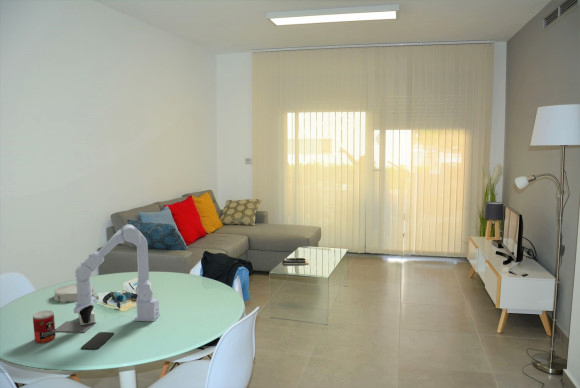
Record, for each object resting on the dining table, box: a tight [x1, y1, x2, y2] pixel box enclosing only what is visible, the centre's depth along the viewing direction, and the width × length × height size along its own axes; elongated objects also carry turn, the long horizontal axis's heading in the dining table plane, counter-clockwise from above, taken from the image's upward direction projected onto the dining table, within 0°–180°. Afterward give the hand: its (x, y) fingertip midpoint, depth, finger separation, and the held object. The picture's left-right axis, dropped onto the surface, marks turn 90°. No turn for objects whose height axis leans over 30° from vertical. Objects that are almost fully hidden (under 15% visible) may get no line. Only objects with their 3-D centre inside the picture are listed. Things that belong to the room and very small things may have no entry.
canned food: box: [32, 310, 56, 344], centre depth 187 cm, size 8×8×11 cm
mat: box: [55, 320, 97, 334], centre depth 199 cm, size 14×10×1 cm
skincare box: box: [77, 309, 96, 325], centre depth 206 cm, size 6×4×12 cm
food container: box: [53, 283, 96, 303], centre depth 238 cm, size 20×20×7 cm
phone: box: [80, 331, 115, 351], centre depth 186 cm, size 7×1×15 cm
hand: (86, 322), depth 198 cm, fingers closed
